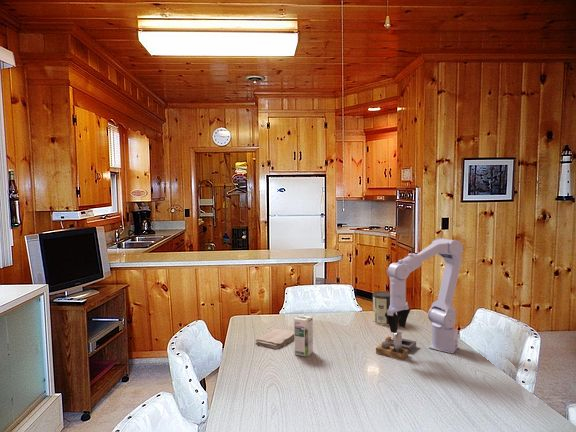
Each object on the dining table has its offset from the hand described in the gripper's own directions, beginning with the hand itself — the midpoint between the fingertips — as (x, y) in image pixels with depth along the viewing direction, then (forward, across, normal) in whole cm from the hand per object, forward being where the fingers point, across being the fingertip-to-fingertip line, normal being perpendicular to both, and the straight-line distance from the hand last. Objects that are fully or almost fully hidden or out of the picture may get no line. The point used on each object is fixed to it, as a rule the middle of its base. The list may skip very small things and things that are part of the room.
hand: (397, 329), depth 147 cm
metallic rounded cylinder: (+10, 0, 0) cm, 10 cm away
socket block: (+10, +9, +2) cm, 14 cm away
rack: (+10, 0, +2) cm, 11 cm away
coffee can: (+11, +33, +22) cm, 41 cm away
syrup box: (+11, -20, +30) cm, 38 cm away
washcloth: (+11, -15, +48) cm, 52 cm away
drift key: (+10, +9, +6) cm, 15 cm away
